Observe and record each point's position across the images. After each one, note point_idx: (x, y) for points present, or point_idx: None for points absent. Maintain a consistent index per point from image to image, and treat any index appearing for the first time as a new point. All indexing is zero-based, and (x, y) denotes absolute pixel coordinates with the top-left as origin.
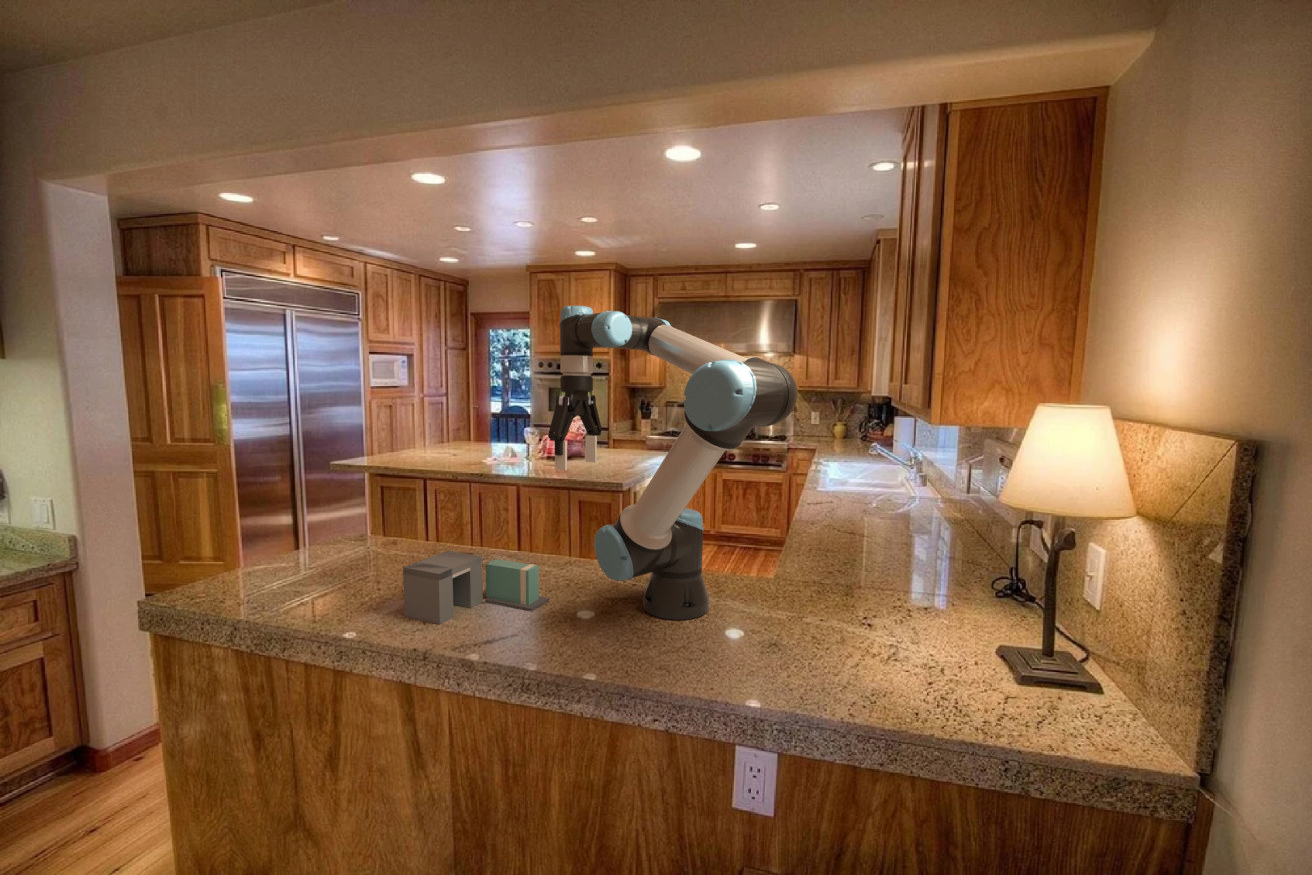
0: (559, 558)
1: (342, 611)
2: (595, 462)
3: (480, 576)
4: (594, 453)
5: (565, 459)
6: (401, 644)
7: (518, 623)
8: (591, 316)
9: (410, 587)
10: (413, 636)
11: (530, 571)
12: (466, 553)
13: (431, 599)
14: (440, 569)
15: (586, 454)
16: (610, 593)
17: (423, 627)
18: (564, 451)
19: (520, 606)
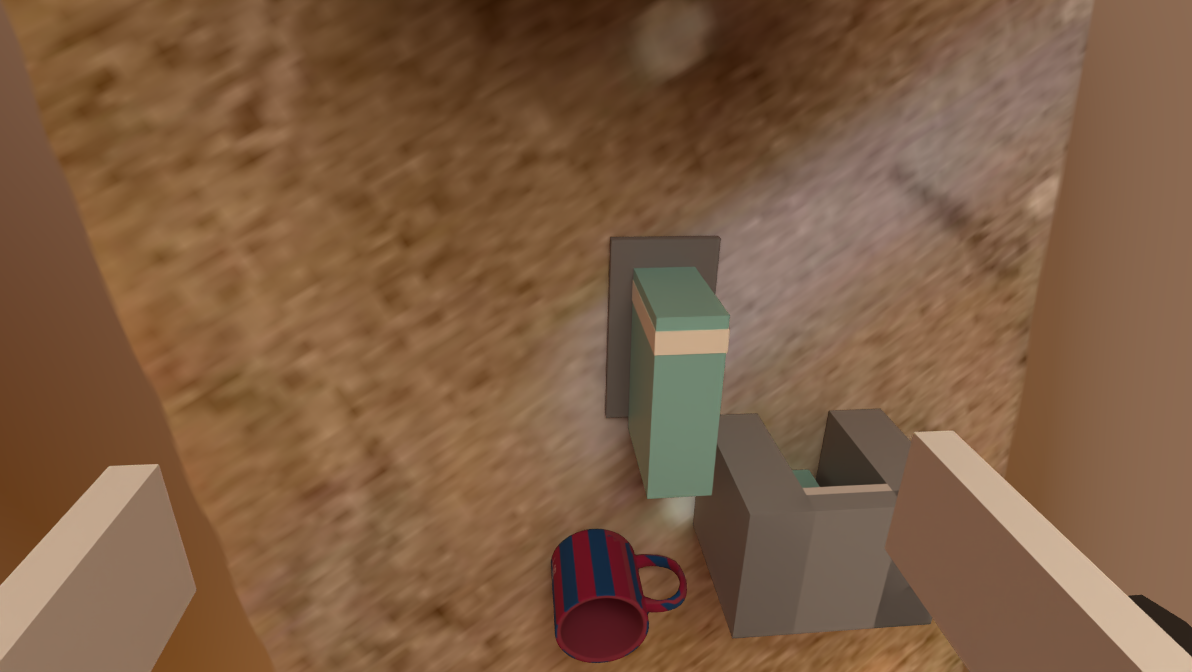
0: (194, 456)
1: (866, 639)
2: (145, 465)
3: (737, 466)
4: (80, 575)
5: (1039, 519)
6: (1005, 404)
7: (816, 217)
8: None
9: None
10: (960, 412)
11: (714, 313)
12: (561, 641)
13: None
14: None
15: (139, 668)
16: (433, 47)
17: (906, 430)
18: (1139, 623)
19: (715, 283)
